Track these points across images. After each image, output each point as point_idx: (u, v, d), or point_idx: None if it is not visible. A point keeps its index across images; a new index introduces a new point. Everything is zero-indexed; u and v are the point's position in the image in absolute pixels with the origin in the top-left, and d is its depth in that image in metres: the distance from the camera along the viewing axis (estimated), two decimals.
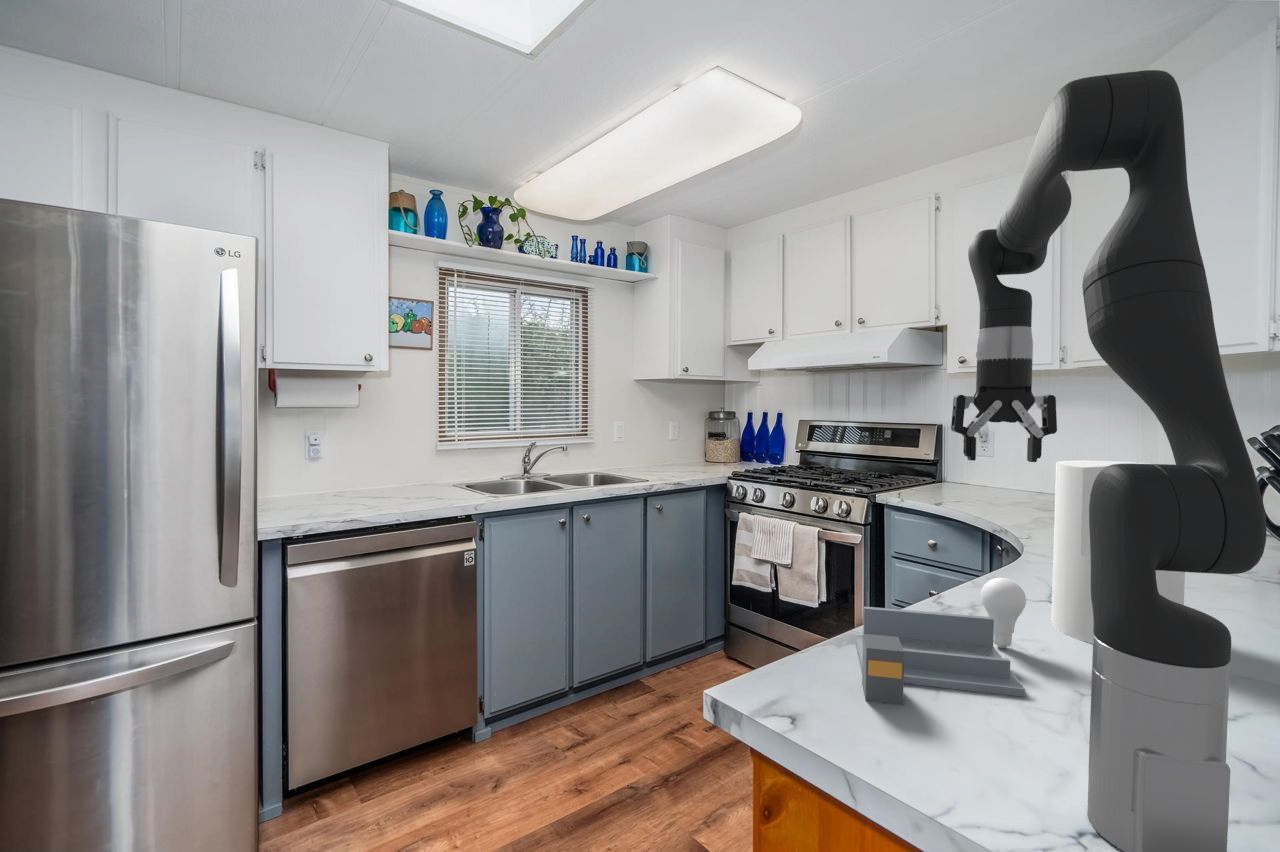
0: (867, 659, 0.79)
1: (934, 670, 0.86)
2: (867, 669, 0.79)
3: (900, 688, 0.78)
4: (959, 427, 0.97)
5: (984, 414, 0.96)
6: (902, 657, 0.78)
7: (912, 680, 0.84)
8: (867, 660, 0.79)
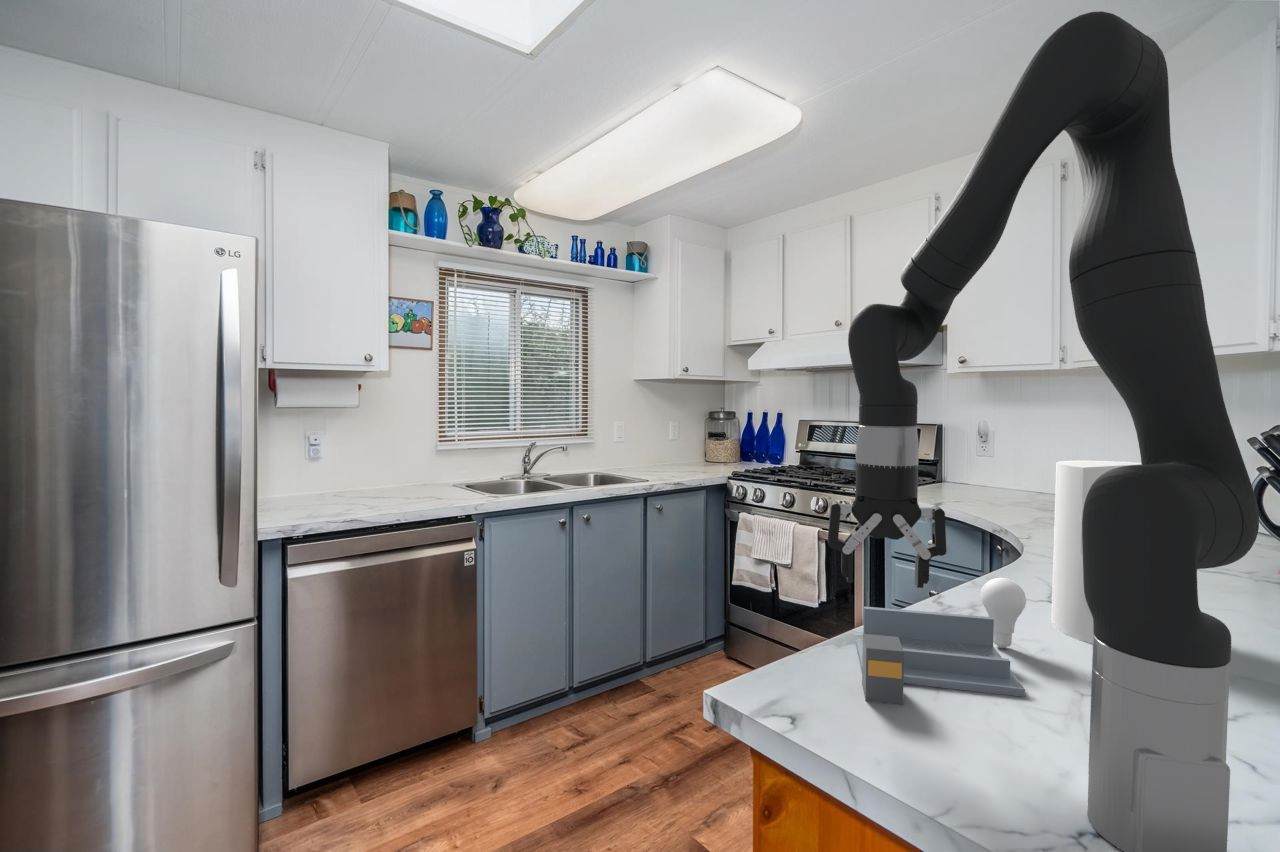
0: (867, 659, 0.79)
1: (934, 670, 0.86)
2: (867, 669, 0.79)
3: (900, 688, 0.78)
4: (833, 542, 0.81)
5: (861, 529, 0.79)
6: (902, 657, 0.78)
7: (912, 680, 0.84)
8: (867, 660, 0.79)
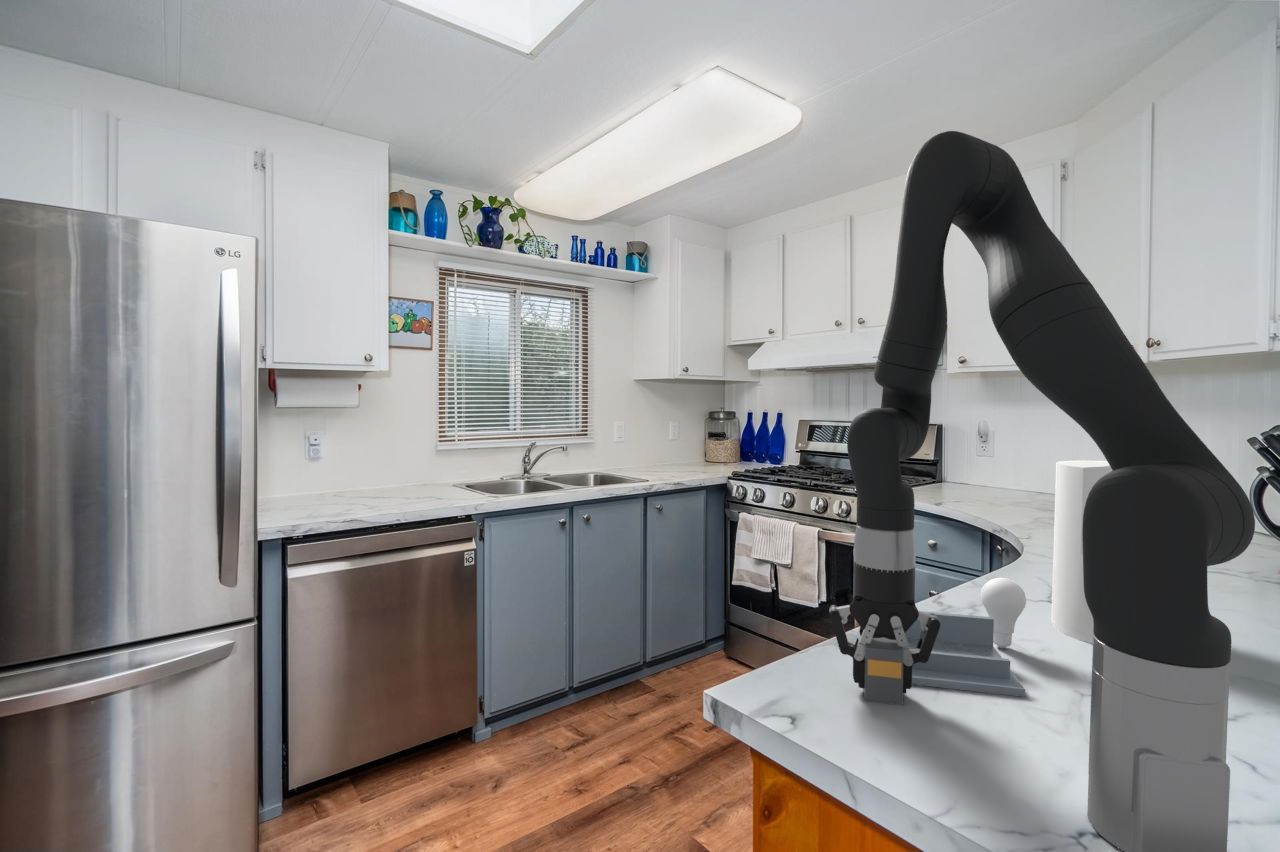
0: (867, 659, 0.79)
1: (934, 670, 0.86)
2: (867, 669, 0.79)
3: (900, 688, 0.78)
4: (845, 649, 0.81)
5: (864, 633, 0.80)
6: (902, 657, 0.78)
7: (912, 680, 0.84)
8: (867, 660, 0.79)
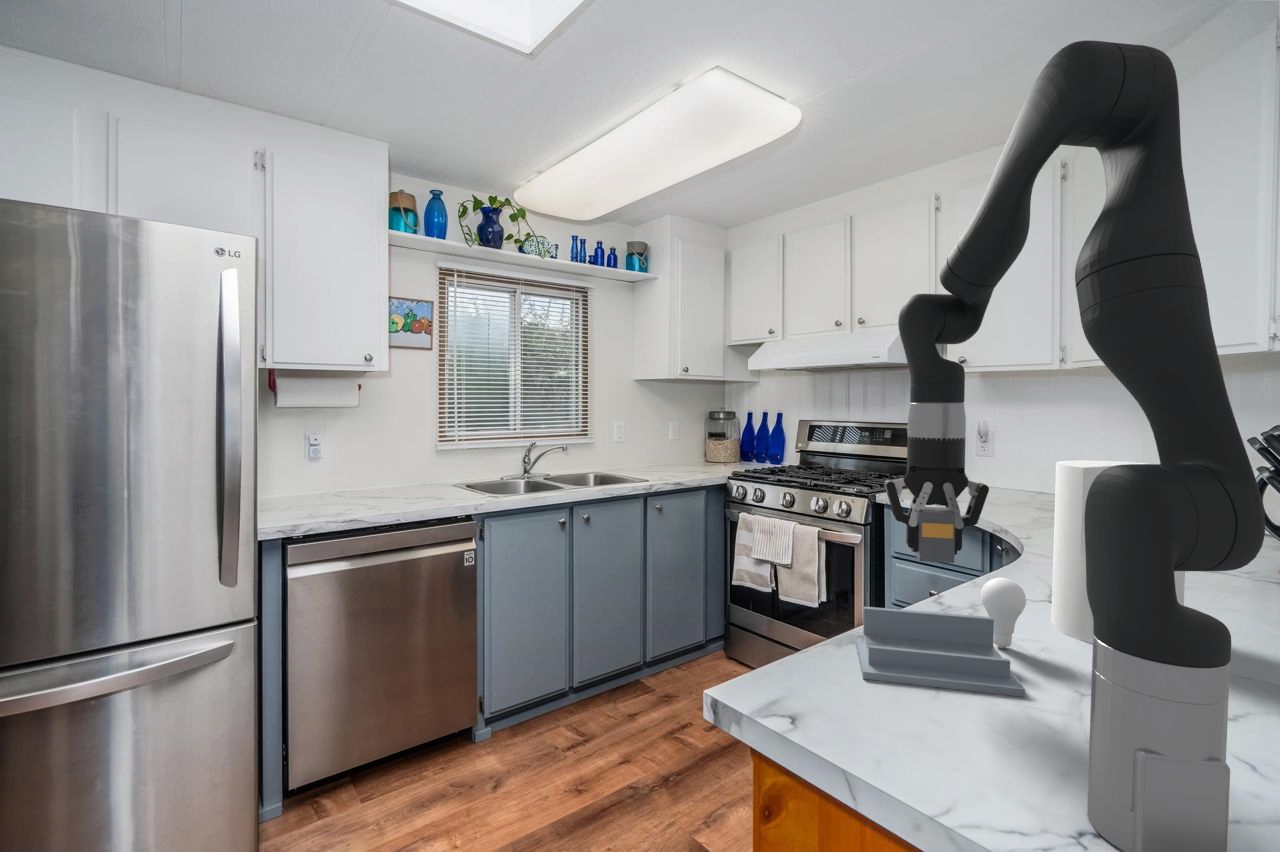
0: (921, 522, 0.87)
1: (934, 670, 0.86)
2: (921, 531, 0.87)
3: (951, 547, 0.86)
4: (900, 516, 0.89)
5: (919, 500, 0.88)
6: (953, 519, 0.86)
7: (912, 680, 0.84)
8: (921, 523, 0.87)
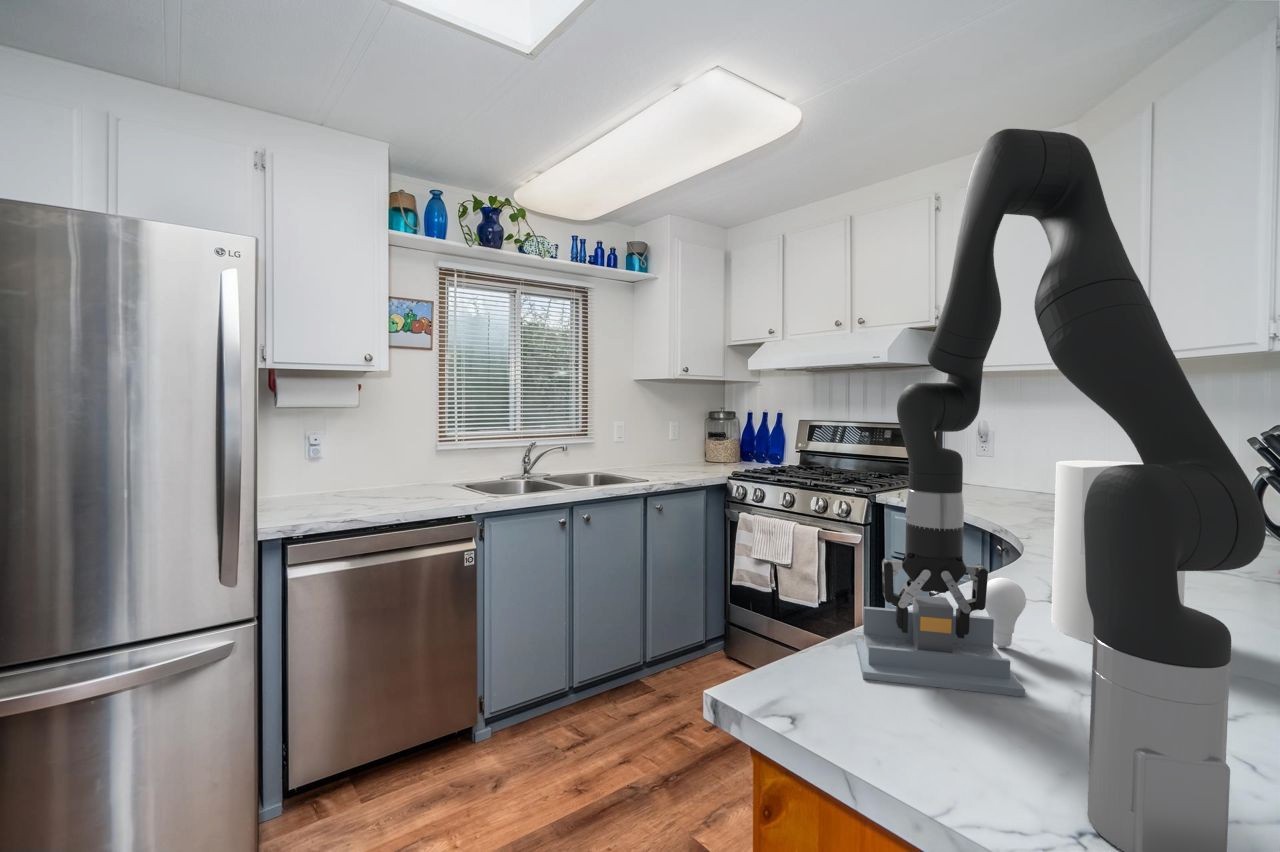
0: (919, 616, 0.88)
1: (934, 670, 0.86)
2: (919, 625, 0.88)
3: (950, 642, 0.87)
4: (890, 597, 0.90)
5: (913, 584, 0.88)
6: (951, 614, 0.86)
7: (912, 680, 0.84)
8: (919, 617, 0.88)
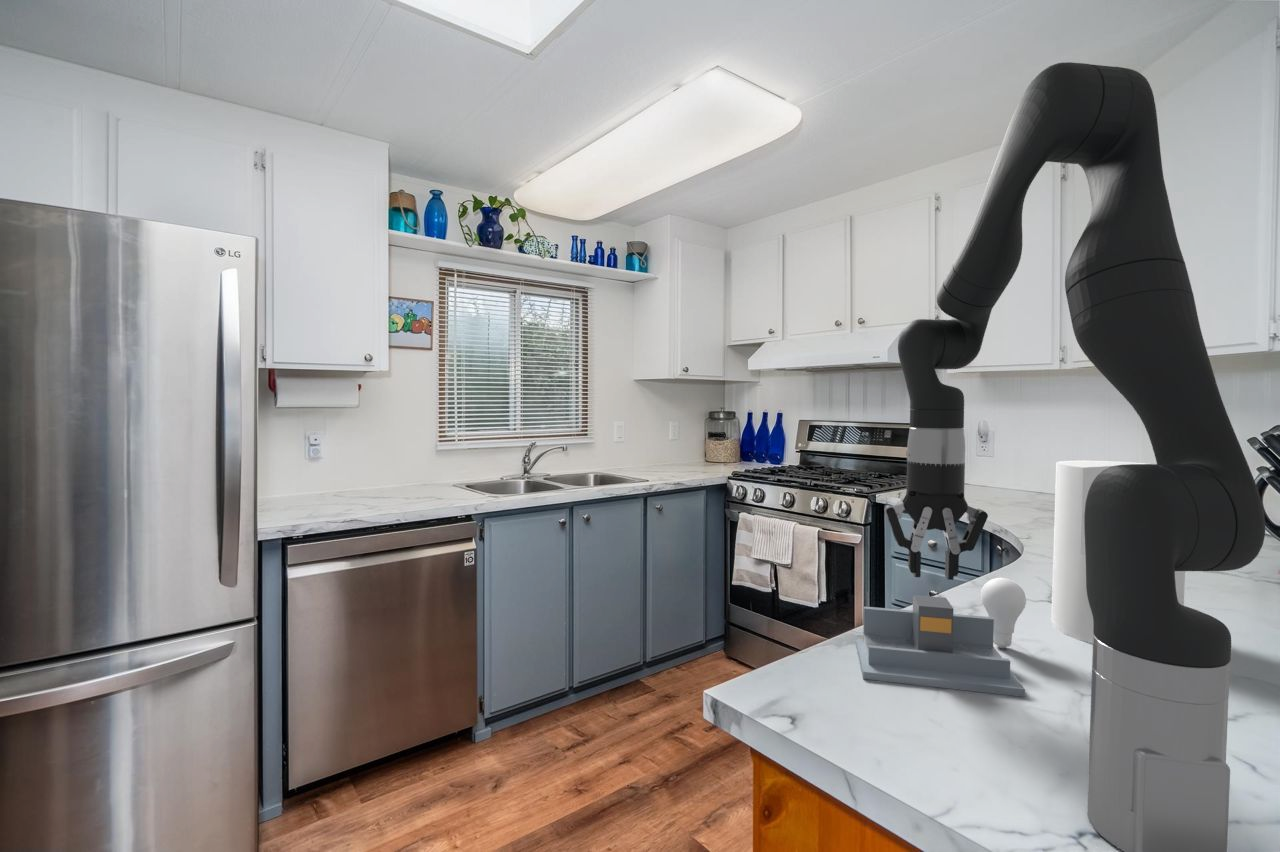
0: (919, 616, 0.88)
1: (934, 670, 0.86)
2: (919, 625, 0.88)
3: (950, 642, 0.87)
4: (902, 541, 0.89)
5: (919, 525, 0.88)
6: (951, 614, 0.86)
7: (912, 680, 0.84)
8: (919, 617, 0.88)
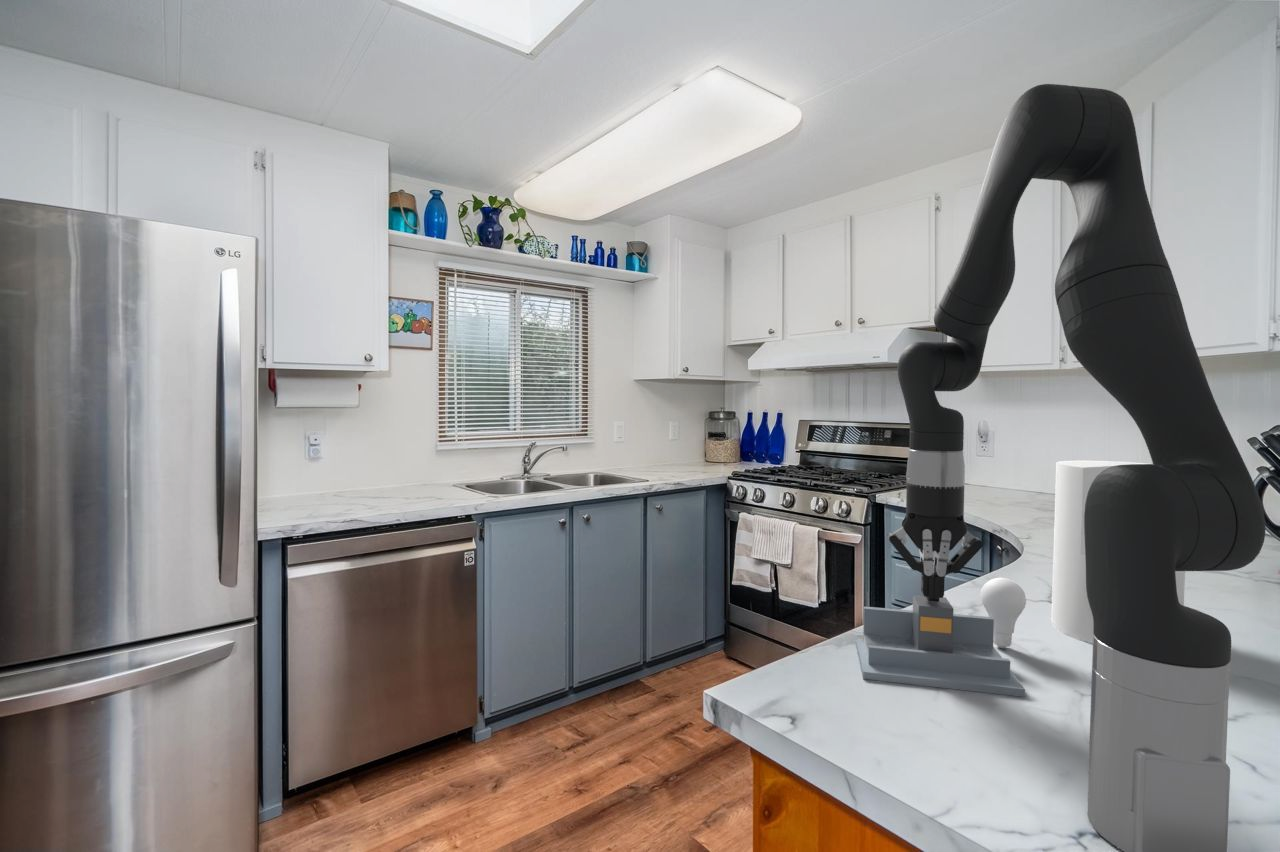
0: (919, 616, 0.88)
1: (934, 670, 0.86)
2: (919, 625, 0.88)
3: (950, 642, 0.87)
4: (915, 565, 0.88)
5: (924, 549, 0.88)
6: (951, 614, 0.86)
7: (912, 680, 0.84)
8: (919, 617, 0.88)
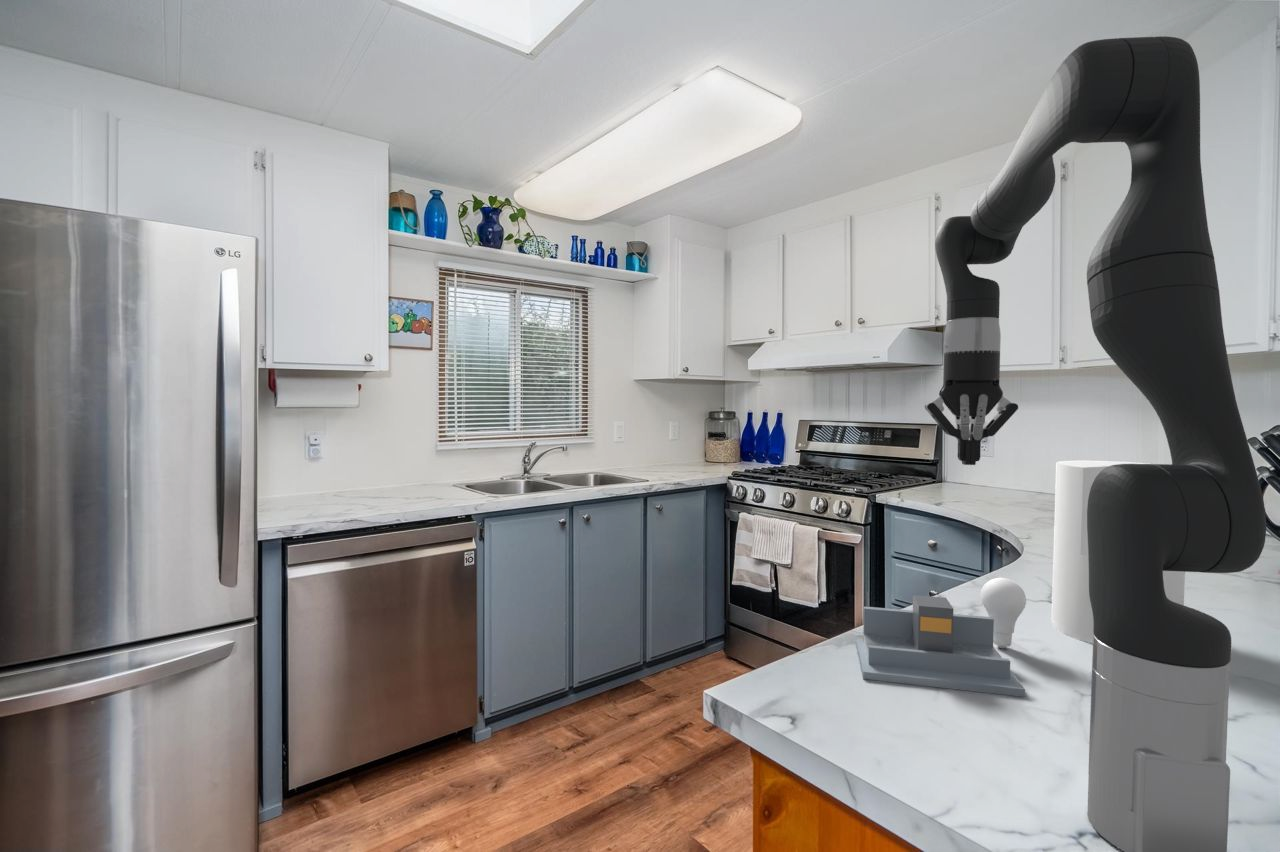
0: (919, 616, 0.88)
1: (934, 670, 0.86)
2: (919, 625, 0.88)
3: (950, 642, 0.87)
4: (953, 430, 0.93)
5: (961, 414, 0.92)
6: (951, 614, 0.86)
7: (912, 680, 0.84)
8: (919, 617, 0.88)
